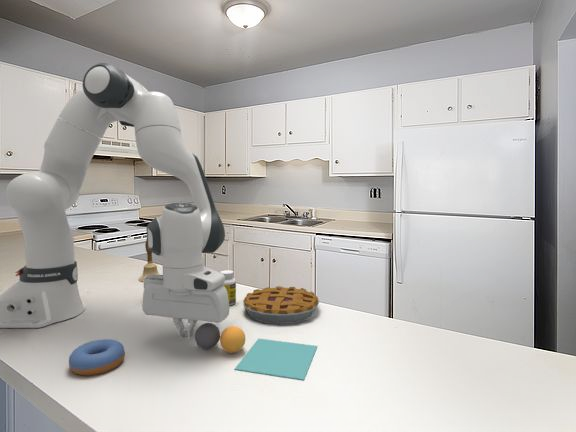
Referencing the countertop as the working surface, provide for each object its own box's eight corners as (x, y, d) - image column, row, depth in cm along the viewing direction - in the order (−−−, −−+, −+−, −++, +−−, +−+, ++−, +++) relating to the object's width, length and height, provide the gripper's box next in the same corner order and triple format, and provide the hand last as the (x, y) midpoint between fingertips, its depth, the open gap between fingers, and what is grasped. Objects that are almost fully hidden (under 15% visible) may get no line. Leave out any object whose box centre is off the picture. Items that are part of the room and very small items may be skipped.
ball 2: (218, 357, 74) (222, 332, 73) (217, 343, 80) (221, 320, 79) (244, 358, 76) (248, 335, 75) (242, 345, 81) (246, 322, 80)
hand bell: (157, 282, 129) (156, 239, 127) (134, 282, 129) (133, 239, 128) (165, 276, 137) (164, 235, 136) (144, 276, 137) (142, 235, 136)
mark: (234, 369, 70) (234, 368, 70) (258, 339, 83) (258, 338, 83) (303, 380, 66) (303, 379, 66) (317, 346, 80) (317, 345, 80)
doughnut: (58, 366, 70) (59, 344, 70) (107, 349, 79) (109, 330, 78) (83, 388, 65) (85, 364, 64) (134, 367, 73) (135, 346, 73)
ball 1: (201, 329, 75) (208, 354, 75) (221, 319, 79) (227, 342, 79) (187, 328, 78) (193, 352, 79) (207, 318, 83) (213, 341, 83)
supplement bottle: (232, 307, 104) (232, 274, 104) (215, 305, 106) (214, 273, 105) (238, 301, 110) (238, 270, 109) (222, 299, 111) (221, 269, 110)
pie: (248, 298, 113) (248, 282, 113) (317, 299, 113) (317, 284, 112) (236, 326, 92) (236, 307, 91) (321, 327, 91) (321, 308, 90)
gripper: (134, 277, 79) (137, 337, 80) (218, 283, 73) (220, 347, 75) (152, 270, 85) (154, 325, 86) (231, 275, 79) (232, 335, 81)
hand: (186, 336), depth 80 cm, fingers closed
